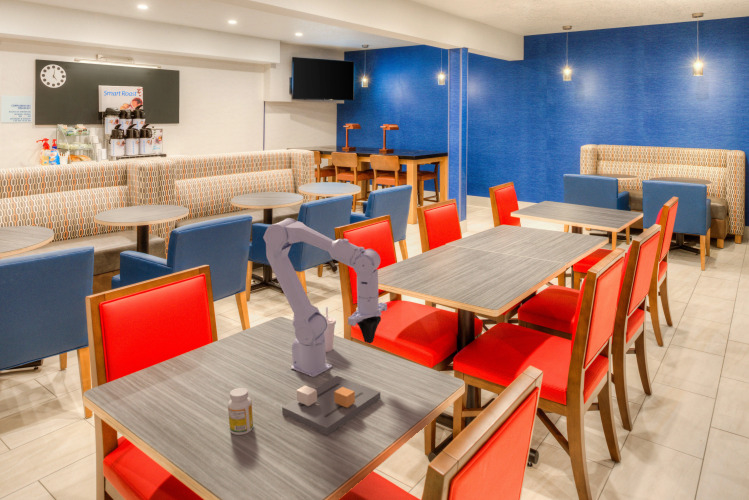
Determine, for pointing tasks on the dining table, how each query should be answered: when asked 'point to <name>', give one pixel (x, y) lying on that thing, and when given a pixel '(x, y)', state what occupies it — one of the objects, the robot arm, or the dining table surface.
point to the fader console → (331, 406)
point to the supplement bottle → (240, 412)
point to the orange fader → (344, 397)
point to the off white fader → (306, 395)
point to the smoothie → (329, 332)
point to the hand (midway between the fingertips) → (368, 341)
